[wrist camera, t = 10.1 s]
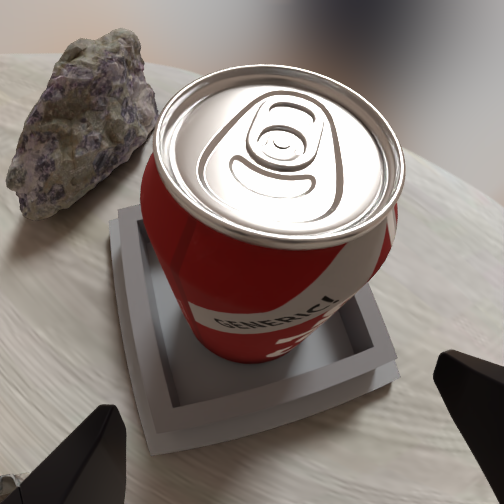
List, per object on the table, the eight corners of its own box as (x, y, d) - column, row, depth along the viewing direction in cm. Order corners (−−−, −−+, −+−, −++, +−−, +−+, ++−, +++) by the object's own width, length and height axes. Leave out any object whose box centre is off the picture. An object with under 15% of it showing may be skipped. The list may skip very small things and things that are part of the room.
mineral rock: (38, 242, 19) (-38, 145, 10) (21, 155, 22) (-22, 72, 14) (192, 159, 23) (183, 37, 14) (142, 94, 26) (127, 2, 18)
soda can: (167, 342, 16) (60, 214, 5) (209, 233, 19) (199, 40, 8) (293, 381, 15) (431, 325, 5) (321, 266, 18) (418, 97, 8)
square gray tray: (392, 379, 16) (424, 371, 13) (155, 453, 14) (137, 464, 11) (312, 187, 22) (324, 153, 19) (113, 228, 20) (96, 197, 17)
